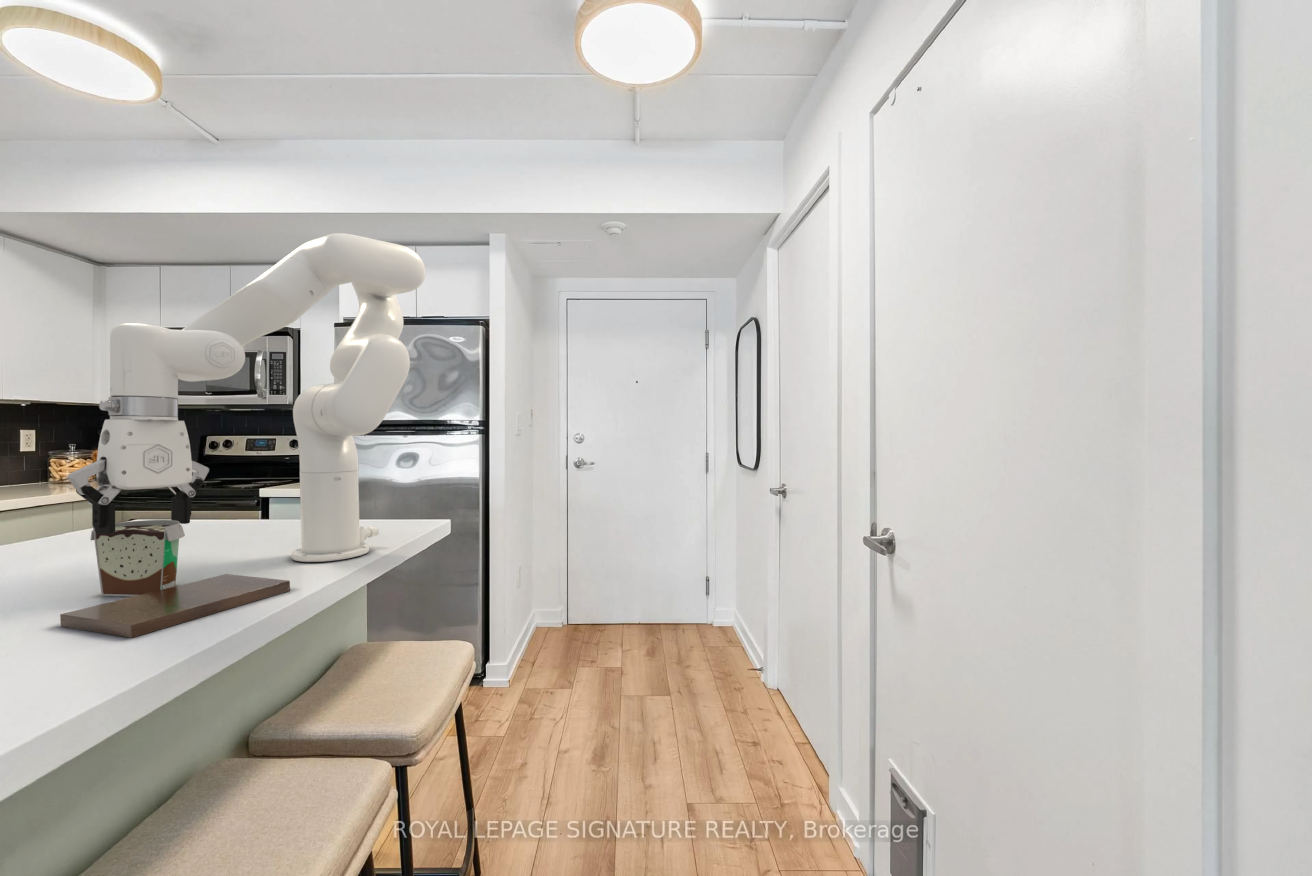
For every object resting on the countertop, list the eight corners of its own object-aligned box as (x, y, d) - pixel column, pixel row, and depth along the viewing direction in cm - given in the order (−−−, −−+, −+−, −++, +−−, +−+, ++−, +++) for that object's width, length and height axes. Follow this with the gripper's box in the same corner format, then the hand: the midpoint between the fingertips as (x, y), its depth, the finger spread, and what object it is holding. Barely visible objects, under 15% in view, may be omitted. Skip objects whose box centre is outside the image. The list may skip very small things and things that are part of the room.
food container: (208, 585, 90) (206, 519, 89) (170, 597, 84) (168, 526, 83) (134, 583, 91) (132, 518, 91) (92, 595, 85) (89, 525, 84)
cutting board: (226, 583, 91) (226, 573, 91) (290, 590, 86) (290, 580, 86) (60, 626, 72) (59, 614, 72) (131, 638, 68) (130, 625, 67)
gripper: (88, 407, 77) (88, 539, 77) (223, 412, 93) (223, 521, 93) (52, 408, 79) (52, 535, 79) (190, 413, 96) (190, 518, 96)
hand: (144, 527), depth 86 cm, fingers open, 9 cm apart
